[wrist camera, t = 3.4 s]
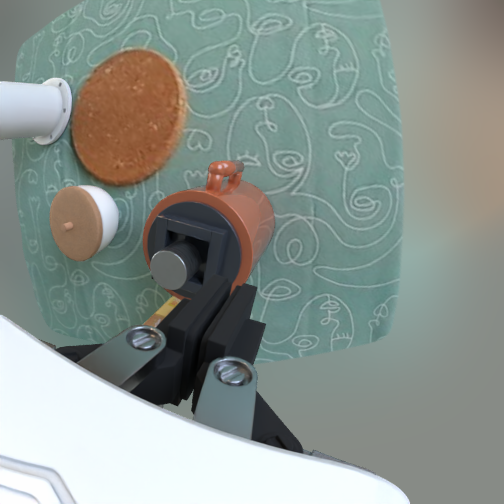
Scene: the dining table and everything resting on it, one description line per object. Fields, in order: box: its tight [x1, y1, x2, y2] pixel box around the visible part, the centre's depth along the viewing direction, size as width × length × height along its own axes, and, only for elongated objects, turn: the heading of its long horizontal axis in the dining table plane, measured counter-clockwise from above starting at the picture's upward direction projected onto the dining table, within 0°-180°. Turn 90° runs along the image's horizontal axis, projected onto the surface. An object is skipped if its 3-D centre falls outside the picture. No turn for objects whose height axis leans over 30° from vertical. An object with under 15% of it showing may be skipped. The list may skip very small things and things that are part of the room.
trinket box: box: [50, 185, 119, 261], centre depth 39 cm, size 11×11×9 cm
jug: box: [143, 160, 275, 300], centre depth 32 cm, size 11×14×15 cm
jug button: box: [150, 240, 201, 290], centre depth 24 cm, size 3×3×3 cm
